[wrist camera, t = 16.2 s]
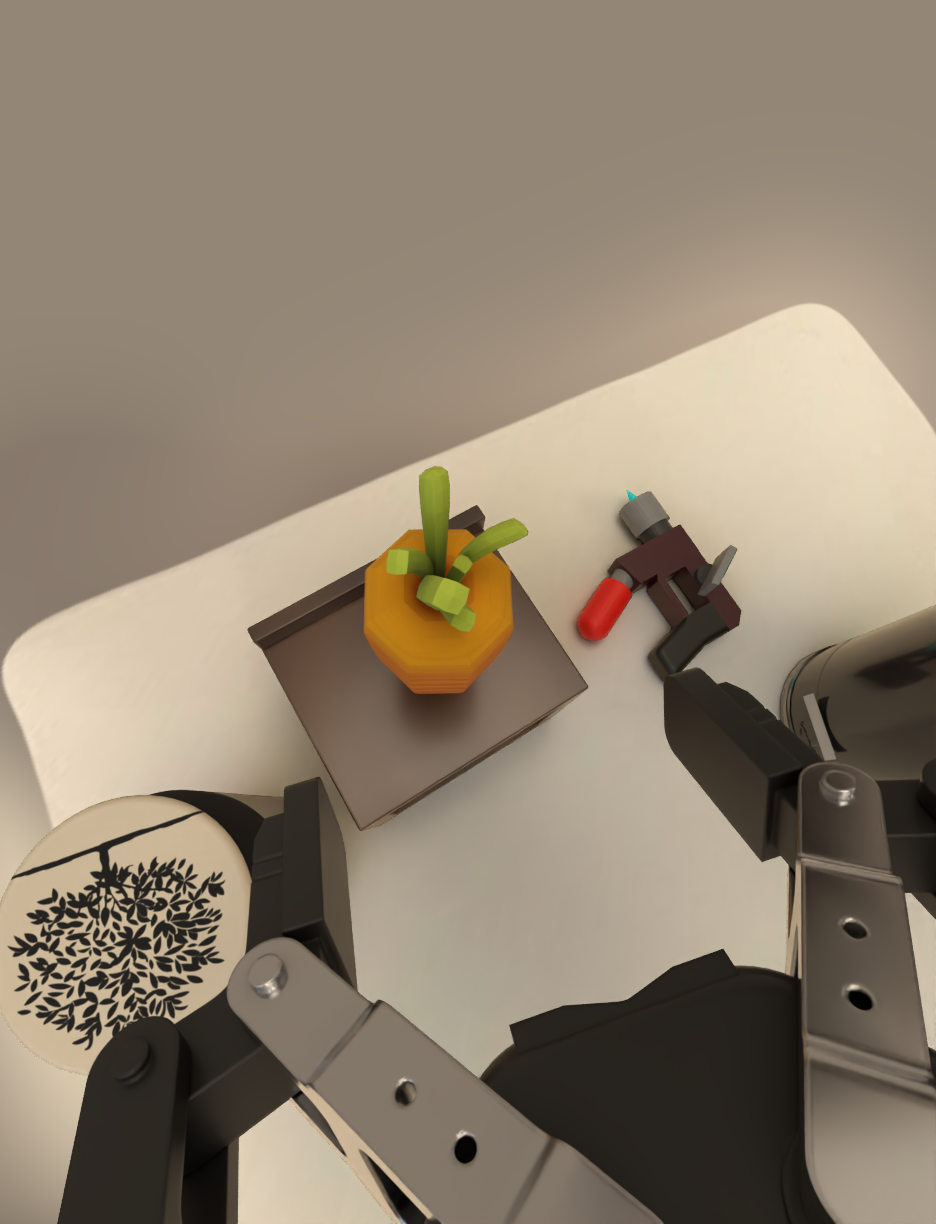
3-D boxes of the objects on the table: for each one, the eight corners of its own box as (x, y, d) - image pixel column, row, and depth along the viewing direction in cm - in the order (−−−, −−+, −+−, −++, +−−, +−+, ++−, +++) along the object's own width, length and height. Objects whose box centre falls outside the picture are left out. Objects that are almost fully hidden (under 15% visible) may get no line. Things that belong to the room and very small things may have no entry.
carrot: (408, 602, 30) (384, 417, 16) (506, 640, 30) (571, 485, 16) (365, 700, 29) (297, 591, 15) (468, 740, 29) (502, 670, 14)
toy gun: (641, 487, 44) (665, 450, 39) (745, 635, 41) (784, 612, 37) (521, 550, 42) (531, 518, 38) (621, 709, 39) (646, 695, 35)
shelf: (466, 584, 41) (477, 503, 31) (552, 717, 39) (596, 681, 28) (298, 678, 39) (246, 628, 28) (379, 826, 37) (356, 832, 26)
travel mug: (353, 932, 35) (275, 1049, 18) (204, 966, 34) (-27, 1123, 17) (333, 784, 37) (246, 763, 20) (193, 813, 37) (-22, 816, 19)
